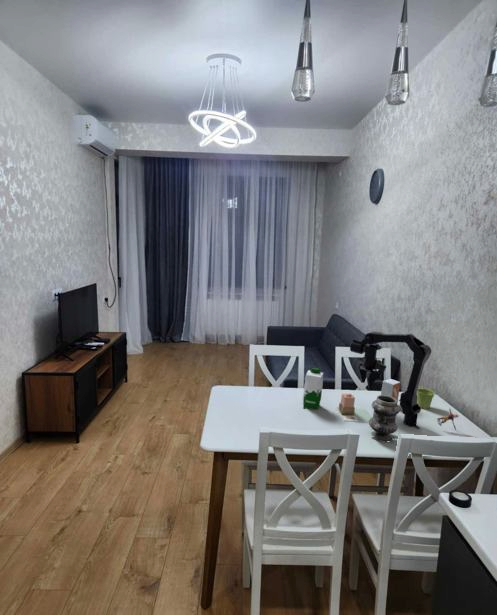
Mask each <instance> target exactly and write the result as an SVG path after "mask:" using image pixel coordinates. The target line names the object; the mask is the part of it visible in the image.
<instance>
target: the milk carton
mask: <svg viewBox="0 0 497 615" xmlns="http://www.w3.org/2000/svg"><path fill="white" fill-rule="evenodd" d="M323 382H324V372H321V370H320V367H311V370H307V372H306V374H305V379H304V388H303V397H302V398H303V400H302V401H303V403H302V404H303V407H302V408H303V409H304V410H306V409H309V410H310V409H311V410H318V409H319V407H320V405H321V404H320V403H321V400H322V393H323V385H324V383H323Z"/></svg>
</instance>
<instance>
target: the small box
mask: <svg viewBox="0 0 497 615" xmlns="http://www.w3.org/2000/svg"><path fill="white" fill-rule="evenodd" d="M400 387H401V381H398V380H395V379H392V378H389V379H386V380H383V381H382V386H381V390H380V392H381V394H380V395H386V396H390V397H393V398H395V399H396V400H397V404H398V402H399V393H400Z"/></svg>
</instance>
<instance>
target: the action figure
mask: <svg viewBox="0 0 497 615" xmlns="http://www.w3.org/2000/svg"><path fill="white" fill-rule="evenodd" d="M457 418H459V414H457V413H452V409H451V408H449V415H447V416H441V417H437V418H436V421H437V424H438V425H439V426H440V427H442V426H443V424H445V423H447V422H448V421H450V420H451V422H452V424H453V428H454V430H455V431H457V428H456V425H455V422H454V420H455V419H457Z"/></svg>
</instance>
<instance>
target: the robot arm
mask: <svg viewBox="0 0 497 615" xmlns="http://www.w3.org/2000/svg"><path fill="white" fill-rule="evenodd" d="M380 343H405V344H406V345H407V347H408V348H409V350H411V351H412V353H413V354H412V355H413V356H412V359H413V366H412V370H411V373H410V378H409V380H408V384H407V387H406V391H403V392H401V393H400V399H398V402H399V407H400V409H401V411H402V414H403V415H404V416H403V425H405V426H407V427H409V428H415V429H420V427H419V425H418V423H417V421H418V414H419V413H420V412H421V411H422V408H421V407H420V406H419V405H418V403H417V398H418V397H417V389H419V384H420V381H421V378H422V375H423V370H424V367H425V364H426V363H427V361H428V360H429V358H430V356H431V354H432V348H431V347H430V346H429V345H428V344H425V342H423V341H422V340H421V339H419V338H418V337H416V336H415V335H414V334H413V333H408V334H407V333H404V334H403V333H383V332H379V331H371V332H367V333H366V334H365V335H364V338H363V339H362V340H359V339H356V338H354V339H353V340H352V343H351V344H350V346H349V350H350V352H352V353H356V354H360V355H363V354H364V355H363V356H362V360H363V361H358V362H357V363H356V368H357V371H358V375H359V376H360V377H359V378H360V380H361V383H363V384H365V382H366V383H367V387H368V390H372V387H373V386H374V384H375V382H376V381H377V380H379V379H381V378H382V374H381V372H382V373H385V370H386V368H387V365H386V364H384V363H382V360H380V359H377V351H380V350H382V347H381V346H380V345H379V344H380ZM379 371H381V372H379Z"/></svg>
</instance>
